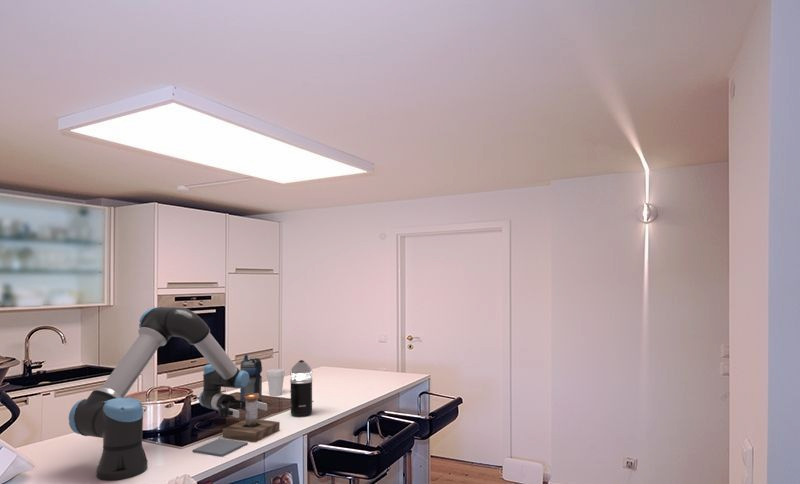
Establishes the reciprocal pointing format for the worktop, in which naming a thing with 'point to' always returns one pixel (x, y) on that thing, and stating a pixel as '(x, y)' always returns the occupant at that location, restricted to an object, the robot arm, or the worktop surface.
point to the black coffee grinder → (301, 389)
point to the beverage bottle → (252, 377)
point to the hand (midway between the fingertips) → (252, 410)
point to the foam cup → (275, 381)
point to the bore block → (251, 430)
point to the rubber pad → (220, 447)
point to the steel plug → (251, 409)
